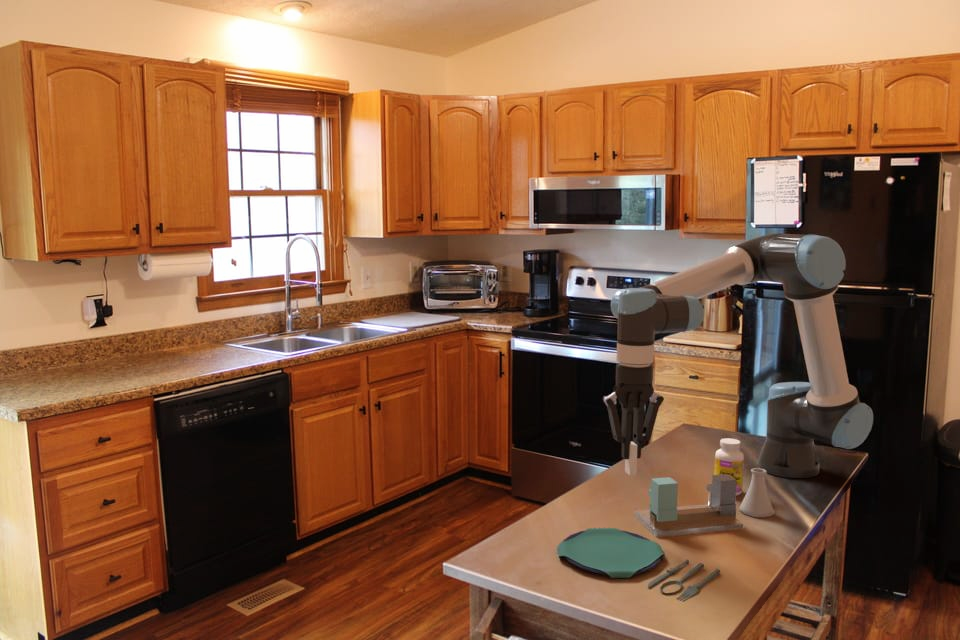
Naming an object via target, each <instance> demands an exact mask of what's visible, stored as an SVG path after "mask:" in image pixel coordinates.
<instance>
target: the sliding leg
mask: <svg viewBox="0 0 960 640" xmlns="http://www.w3.org/2000/svg"><path fill="white" fill-rule="evenodd" d="M678 486H679V483H678V482H677V481H676V480H674V479H673V478H672V477H671V476H669V477H667V476H666V477H656V478H655V477H653V478H650V488H648V492H647V493H648V496H650V501H649V505H648V507H649V508H648V509H649V514H650V512H653V513H654V514H655V515H656V516H657V522H663V521H674V520H677V514H678V509H677V507H678V491H679V487H678Z"/></svg>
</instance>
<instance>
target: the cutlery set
mask: <svg viewBox="0 0 960 640" xmlns="http://www.w3.org/2000/svg"><path fill="white" fill-rule="evenodd" d="M562 540H563V541H561V542H560V543H559V544H558V546H557V548H556V550H557V554H558V559H561V556H562V557H564V558H565V559H566V561H568V562H569V563H570V564H572V565H574V566H576V567H578V568H580V569H581V570H584V571H588V572H591V573H594V574H601V575H606V576H607V575H608V576H609V577H610V578H612V579H629V578H630V577H632V576H633V575H637V574H642V573H644V572H647V571H649V570H651V569H655V567H656V566H658V565H659V563H660V562H661V560H662V558H664V557H665V556H666V554H665V552H664V550H663V549H662V547H661V545H660V544H659V543H658V542H657V541H654V540H650V539H649V538H647V537H645V536H642V535H641V534H638V533H636V532H635V533H634V532H630V531H627V530H621V529H618V528H616V527H607V528H606V527H602V528H601V527H593V528H592V527H590V528H587V529H585V530H581V531H577V532H575V533H571V534H570V535H569V536H567V537H566V538H565V539H562ZM686 564H690V560H689V559H687V558H686V559H685V560H684V561H683V562H681V563H680V564H678V565H676V566H675V567H670V568H669V569H666V573H663V574H661V575H658V576H657V577H656V578H655V579H653V580H651V581H650V582H648V584H647V589H651V588H653V587H654V586H655V585H657V584H658V583H660V582H661V581H663V580H664V579H666V578H668V577H669V576H673V574H676V572H677V570H678V569H680V568H681V567H683V566H684V565H686ZM704 567H705V563H701V562H700V563H698V564H697V565H695V566H694V567H693V568H691V569H690V570H689V571H688V572H687V573H686V574H685V575H683V576H682V577H681V578H680V579H679V580H669V581H667V582H666V581H665V582H663V584H661V586H660V587H659V590H660V592H661V593H664V594H666V595H668V594H675V593H678V592H680V590H681V589H682V588H683V584H682V583H683V582H684V581H685V580H687V579H688V578H689V577H690V576H692V575H693V574H695V573H696V572H698V571H699V570H702V569H703V568H704ZM720 573H721V569H719V568H715V570H714V571H712V572H710V574H709V575H708V576H706V577H705V578H704V579H703V580H701V581H700V582H698V583H696V584H695V583H693V584H692V585H688V586H687V588H686V589H685V590H684V591H683V592H682V593H681V594H680V595H679V596H678V597H676V600H678V601H682V602H685V601H687V600H688V599H690V598H692V597H693V596H696V595H697V594H698V593H699V589H700V588H701V587H704V585H706V584H708V583H709V582H710V581H711V580H713V579H714V578H715V577H717V576H718V575H720ZM670 585H676V586H679V589H677V590H675V591H672V592H665V591H664V588H665V587H666V586H670Z"/></svg>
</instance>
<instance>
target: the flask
mask: <svg viewBox="0 0 960 640" xmlns="http://www.w3.org/2000/svg"><path fill="white" fill-rule="evenodd" d="M750 472H751V480H750V485H749V486H748V489H747V491H746V494H745V496H744V497H743V500H742V502H741V504H740V506H739V510H740V511H741V512H742V513H743V514H744V515H747V516H749V517H753V518H770V517H771V516H773V515H775V511H774V509H773V505H772V502H771V498H770V497H769V496H770V495H769V493H768V489H767V484H766V474H768V473H767V471H766V470H765V469H761V468H759V467H754V468H751V469H750Z"/></svg>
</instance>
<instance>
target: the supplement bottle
mask: <svg viewBox="0 0 960 640" xmlns="http://www.w3.org/2000/svg"><path fill="white" fill-rule="evenodd" d="M719 447H720V448H719V449H717V450H716V452H715V455H714V470H713V471H714V473H713V475H722V474H728V475H730V476H731V477H733V478H734V479H736V496H740V495H741V494H742V492H743V483H744V482H743V481H744V479H743V477H744V464H745V454H744V452H742V451H741V450H740V448H741V447H742V446H741V441H740V440H738V439H737V438H729V437H727V438H721V439H720V441H719Z"/></svg>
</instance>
